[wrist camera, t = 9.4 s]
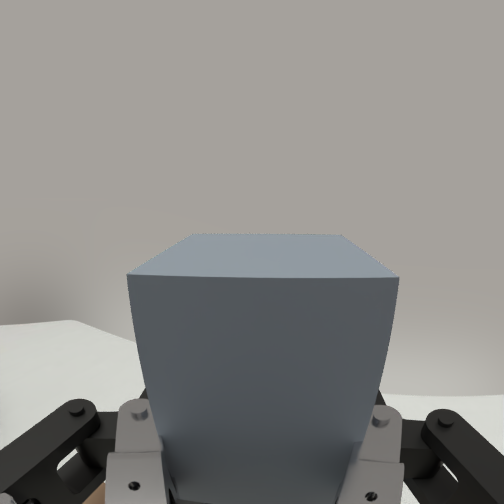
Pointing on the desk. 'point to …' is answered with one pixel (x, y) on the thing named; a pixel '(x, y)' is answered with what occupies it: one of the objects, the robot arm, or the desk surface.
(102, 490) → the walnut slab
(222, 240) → the slate pillar
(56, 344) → the desk surface
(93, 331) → the desk surface
